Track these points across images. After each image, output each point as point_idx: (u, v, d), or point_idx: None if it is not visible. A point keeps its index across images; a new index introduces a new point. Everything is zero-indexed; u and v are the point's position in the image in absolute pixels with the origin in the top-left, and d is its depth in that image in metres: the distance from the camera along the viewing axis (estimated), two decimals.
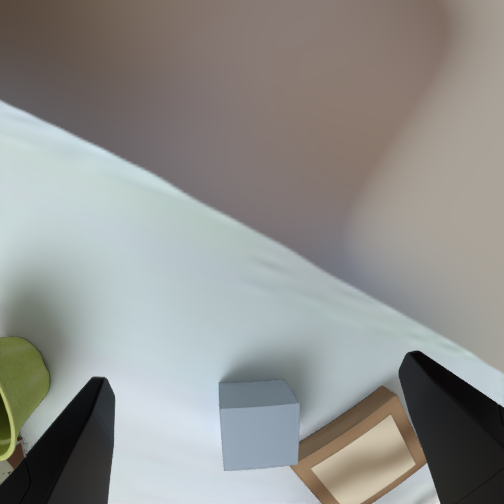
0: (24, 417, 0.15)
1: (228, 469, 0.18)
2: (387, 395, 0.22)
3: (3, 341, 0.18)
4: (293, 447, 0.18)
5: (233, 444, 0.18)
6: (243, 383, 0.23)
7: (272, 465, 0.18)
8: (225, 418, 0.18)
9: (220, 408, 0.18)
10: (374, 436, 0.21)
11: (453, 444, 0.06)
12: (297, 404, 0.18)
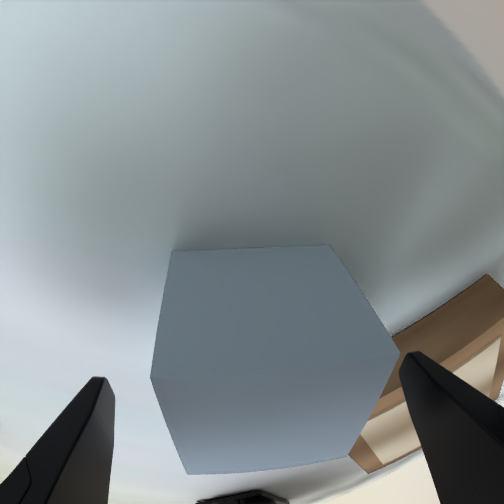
0: None
1: (196, 472, 0.08)
2: (502, 300, 0.11)
3: None
4: (349, 436, 0.08)
5: (204, 444, 0.07)
6: (232, 254, 0.10)
7: (294, 464, 0.08)
8: (172, 399, 0.06)
9: (154, 374, 0.05)
10: (466, 372, 0.11)
11: (453, 444, 0.06)
12: (393, 357, 0.06)
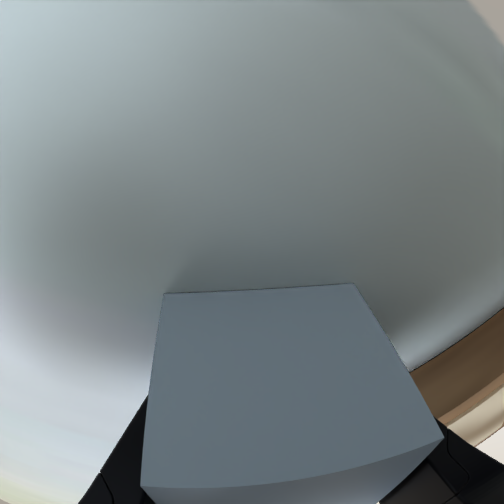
0: None
1: None
2: None
3: None
4: (370, 502, 0.06)
5: None
6: (238, 301, 0.08)
7: None
8: (168, 499, 0.04)
9: (145, 482, 0.04)
10: (487, 406, 0.09)
11: None
12: (436, 443, 0.04)
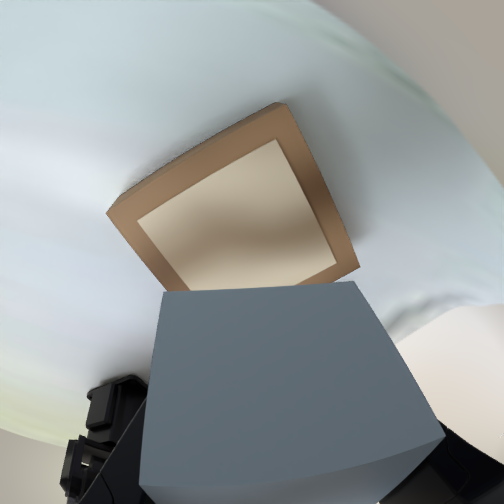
0: None
1: None
2: (273, 108, 0.14)
3: None
4: (370, 502, 0.06)
5: None
6: (238, 299, 0.08)
7: None
8: (168, 498, 0.04)
9: (143, 481, 0.04)
10: (246, 177, 0.15)
11: None
12: (438, 441, 0.04)
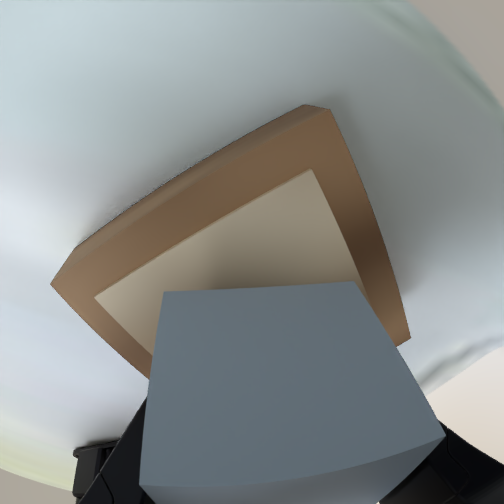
0: None
1: None
2: (306, 114, 0.08)
3: None
4: (370, 502, 0.06)
5: None
6: (238, 299, 0.08)
7: None
8: (168, 498, 0.04)
9: (143, 480, 0.04)
10: (261, 232, 0.09)
11: None
12: (438, 441, 0.04)
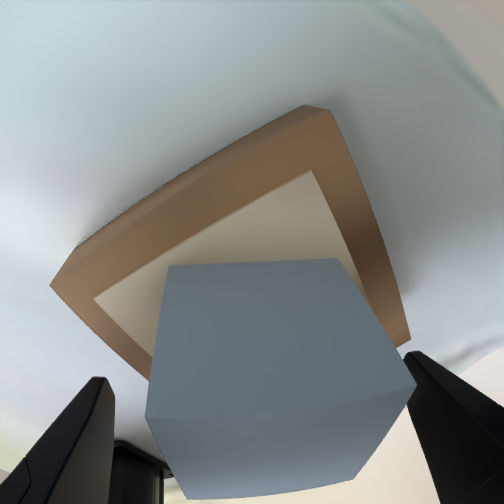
0: None
1: (197, 497, 0.07)
2: (306, 115, 0.08)
3: None
4: (356, 463, 0.07)
5: (205, 475, 0.06)
6: (234, 271, 0.09)
7: (299, 489, 0.07)
8: (169, 437, 0.05)
9: (149, 414, 0.05)
10: (261, 234, 0.09)
11: (453, 444, 0.06)
12: (410, 390, 0.05)
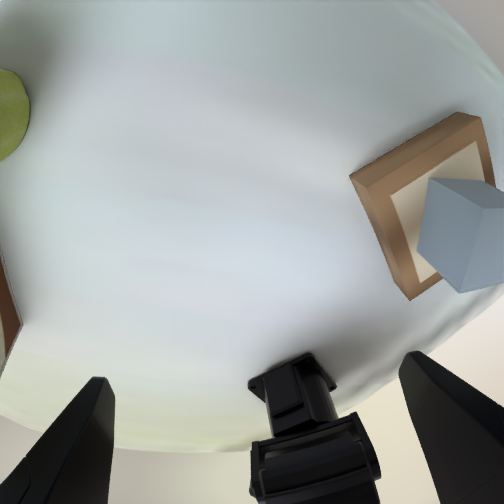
0: None
1: (462, 291, 0.15)
2: (469, 118, 0.16)
3: None
4: None
5: (479, 257, 0.14)
6: (454, 180, 0.17)
7: (494, 282, 0.15)
8: (483, 221, 0.13)
9: (482, 208, 0.12)
10: (460, 166, 0.17)
11: (453, 444, 0.06)
12: None
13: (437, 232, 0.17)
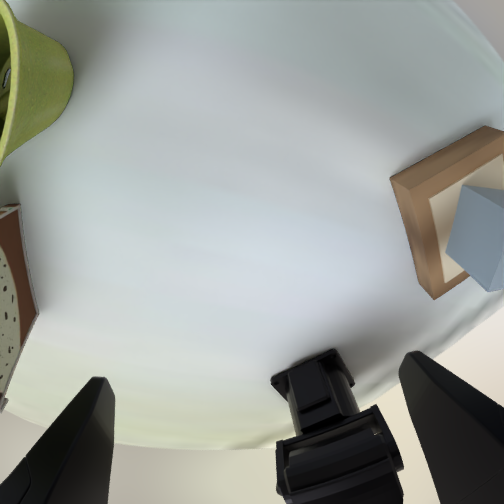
0: (32, 108, 0.10)
1: (490, 290, 0.15)
2: (496, 132, 0.16)
3: None
4: None
5: None
6: (483, 189, 0.17)
7: None
8: None
9: None
10: (487, 175, 0.17)
11: (453, 444, 0.06)
12: None
13: (468, 235, 0.17)
